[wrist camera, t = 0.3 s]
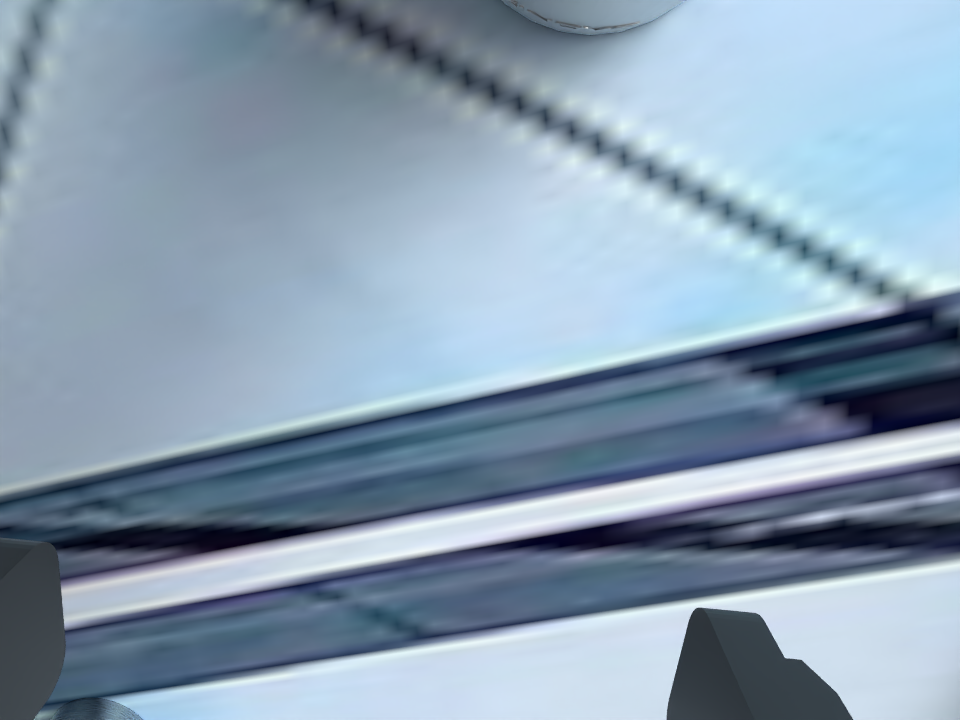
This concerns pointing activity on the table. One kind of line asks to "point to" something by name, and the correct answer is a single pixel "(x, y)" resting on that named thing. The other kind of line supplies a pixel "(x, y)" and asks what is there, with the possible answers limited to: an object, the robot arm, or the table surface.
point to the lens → (94, 711)
